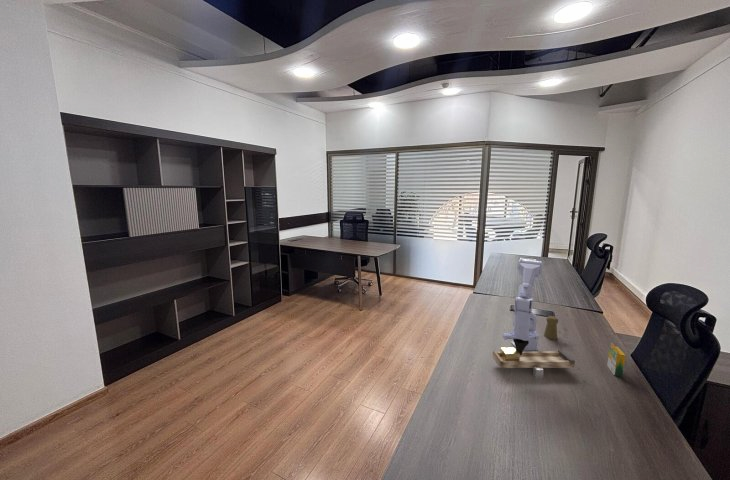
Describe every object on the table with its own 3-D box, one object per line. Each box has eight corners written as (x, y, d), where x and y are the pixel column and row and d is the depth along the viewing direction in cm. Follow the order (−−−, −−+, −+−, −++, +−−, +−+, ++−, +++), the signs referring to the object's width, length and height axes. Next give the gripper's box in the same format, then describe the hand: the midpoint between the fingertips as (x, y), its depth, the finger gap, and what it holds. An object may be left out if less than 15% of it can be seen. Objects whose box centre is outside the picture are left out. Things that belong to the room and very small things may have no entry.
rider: (513, 355, 129) (514, 347, 129) (519, 362, 125) (520, 353, 124) (500, 355, 130) (500, 347, 129) (505, 362, 125) (505, 353, 124)
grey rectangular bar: (525, 359, 134) (526, 351, 134) (542, 378, 121) (543, 369, 120) (518, 359, 134) (519, 351, 134) (535, 378, 121) (536, 369, 120)
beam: (561, 357, 131) (561, 349, 131) (574, 369, 123) (575, 360, 122) (491, 357, 132) (492, 350, 131) (500, 369, 123) (501, 361, 122)
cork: (555, 334, 157) (557, 315, 155) (558, 340, 151) (561, 320, 149) (542, 333, 159) (544, 314, 157) (545, 338, 153) (547, 318, 151)
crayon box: (622, 377, 121) (627, 351, 119) (614, 375, 122) (617, 350, 120) (615, 367, 128) (618, 342, 126) (606, 365, 129) (610, 341, 127)
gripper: (509, 329, 120) (506, 359, 123) (544, 329, 120) (541, 359, 122) (501, 321, 127) (499, 350, 130) (534, 321, 127) (531, 350, 129)
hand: (519, 354), depth 126 cm, fingers closed
